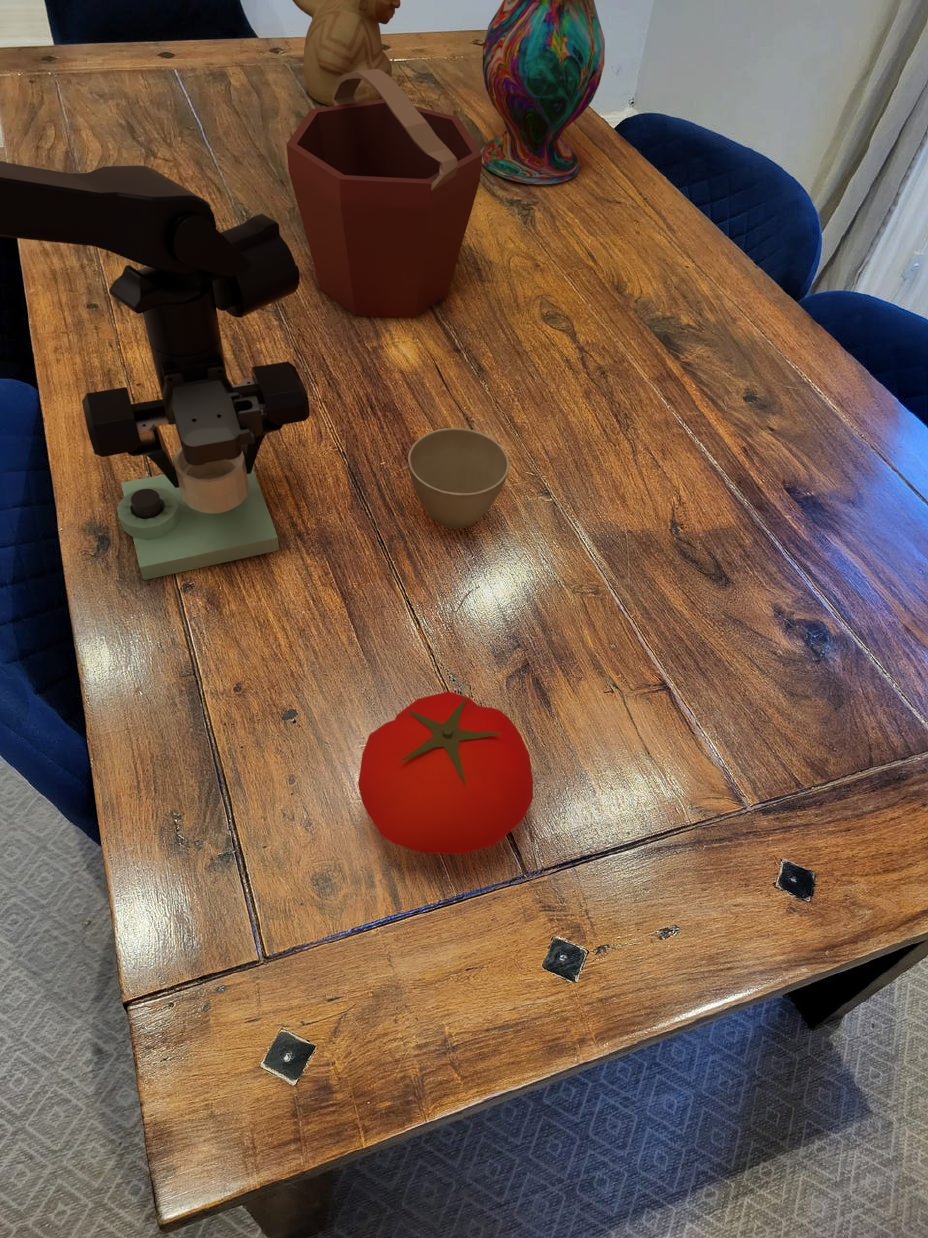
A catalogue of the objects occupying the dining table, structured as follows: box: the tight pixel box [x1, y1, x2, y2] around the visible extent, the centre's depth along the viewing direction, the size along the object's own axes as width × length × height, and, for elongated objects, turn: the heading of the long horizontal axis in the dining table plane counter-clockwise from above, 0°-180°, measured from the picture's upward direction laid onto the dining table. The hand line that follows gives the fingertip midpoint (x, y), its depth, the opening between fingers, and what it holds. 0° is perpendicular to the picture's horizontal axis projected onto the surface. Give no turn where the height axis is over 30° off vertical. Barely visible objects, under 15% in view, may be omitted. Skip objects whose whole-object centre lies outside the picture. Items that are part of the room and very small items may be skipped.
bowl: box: [172, 446, 249, 514], centre depth 84 cm, size 6×6×4 cm
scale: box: [116, 468, 280, 581], centre depth 86 cm, size 14×12×4 cm
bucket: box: [286, 69, 483, 319], centre depth 108 cm, size 24×22×25 cm
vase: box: [480, 0, 606, 185], centre depth 132 cm, size 18×18×30 cm
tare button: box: [131, 489, 162, 519], centre depth 84 cm, size 3×3×2 cm
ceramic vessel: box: [291, 0, 402, 107], centre depth 145 cm, size 17×20×25 cm
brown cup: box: [407, 427, 510, 530], centre depth 89 cm, size 10×10×7 cm
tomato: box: [357, 690, 534, 855], centre depth 66 cm, size 13×12×11 cm
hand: (212, 478), depth 84 cm, fingers closed on bowl, 6 cm apart
